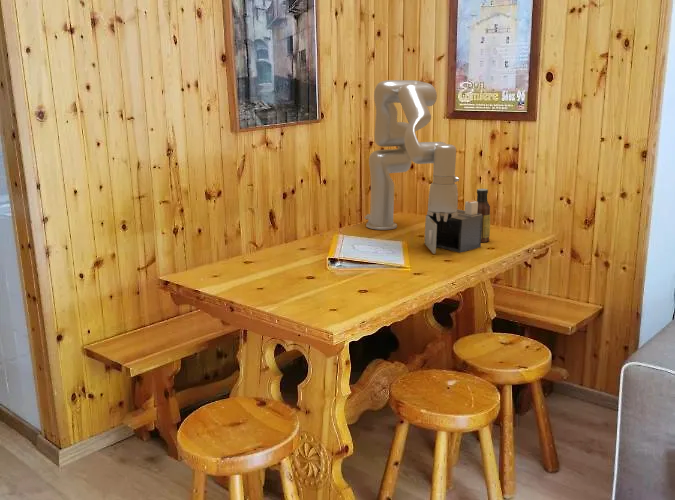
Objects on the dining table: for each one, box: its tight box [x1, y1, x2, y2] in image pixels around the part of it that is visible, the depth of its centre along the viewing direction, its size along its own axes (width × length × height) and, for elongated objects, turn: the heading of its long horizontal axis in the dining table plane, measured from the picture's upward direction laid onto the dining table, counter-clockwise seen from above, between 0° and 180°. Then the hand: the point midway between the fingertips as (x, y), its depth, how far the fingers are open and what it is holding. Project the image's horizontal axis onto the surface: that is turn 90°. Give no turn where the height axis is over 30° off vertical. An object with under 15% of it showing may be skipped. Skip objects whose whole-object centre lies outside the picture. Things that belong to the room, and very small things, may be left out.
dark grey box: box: [428, 208, 483, 254], centre depth 263 cm, size 16×12×12 cm
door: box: [424, 214, 437, 254], centre depth 257 cm, size 15×2×11 cm, turn 5°
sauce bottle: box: [476, 188, 491, 243], centre depth 269 cm, size 7×6×20 cm
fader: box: [464, 199, 478, 215], centre depth 259 cm, size 3×4×5 cm
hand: (441, 231), depth 252 cm, fingers closed
